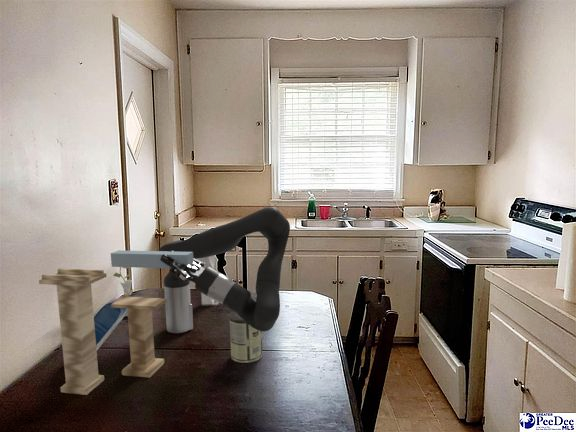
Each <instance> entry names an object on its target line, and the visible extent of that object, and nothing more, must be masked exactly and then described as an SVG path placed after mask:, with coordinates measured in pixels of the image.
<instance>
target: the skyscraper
mask: <svg viewBox="0 0 576 432" xmlns="http://www.w3.org/2000/svg"><path fill="white" fill-rule="evenodd" d="M215 258H216V255H213V256H209V257H204V258H199V259H198V260H199V261H202V262H204V263H205V265H204V268H207V267H208V266H210V267H212V268H214V269H215V260H216V259H215ZM200 295H201V306H203V307H204V306H205V307H206V306H209V307H210V306H219V304H220V303H219V302H216V301H215V300H213V299H211V298H210V297H208V296H206V295H205V294H203V293H201V292H200Z"/></svg>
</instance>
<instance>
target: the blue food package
mask: <svg viewBox="0 0 576 432" xmlns="http://www.w3.org/2000/svg"><path fill="white" fill-rule="evenodd" d="M136 289H137V288H136V287H135V288H134V289H130V292H128V293H126V294H125V295H121V296H118V297H116V298H114V299H112V300H110V301H109V302H108V303H106V304H104V305H103V306H102V307H100V309H99V311H97V313H96V314H95V315H94V326H95V338H96V350H97V351H98V350H99V349H100V348H101V346H102V345H103V344H104V343H105V341H106V340H107V339H108V338H109V336H110V335H111V334H112V333H113V331H114V330H115V329H116V328H117V327H118V325H119V324H120V322H122V320H123V319H124V318H125V317H126V316H125V315H126V314H127V308H114V307H111V304H112V303H114V302H116V301H117V300H119V299H121V298H123V297H124V296H126V297H132V294H133V292H134V291H135V290H136Z"/></svg>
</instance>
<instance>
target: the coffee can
mask: <svg viewBox="0 0 576 432" xmlns="http://www.w3.org/2000/svg"><path fill="white" fill-rule="evenodd" d="M228 318H229V334H230V335H229V336H230V337H229V339H230V340H229V341H230V359H231V360H233V361H234V362H236V363H242V364H244V363H245V364H246V363H248V364H249V363H253V362H257V361H259V360H260V359H262V357H263V339H262V338H263V337H262V336H263V335H262V333H263V331H259V330H256V329H254V328H253V327H251V326H250V325H249V324H248V323H247V322H245V321H244V320H243V319H242V318H241V317H240V316H239V315H238V314H237V313H236V312H235V311H233V310H232V311H231V312H230V313H229V314H228Z"/></svg>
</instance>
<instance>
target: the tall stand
mask: <svg viewBox="0 0 576 432" xmlns="http://www.w3.org/2000/svg"><path fill="white" fill-rule="evenodd" d="M107 276H108V275H107V273H105V271H104V270H103V269H83V268H82V269H81V268H61V267H60V268H57V273H55V274H50V273H48V274H46V273H42V274H41V279H39V280H38V284H39V285H48V286H49V285H50V286H51V285H52V286H54V285H55V286H56V294H57V295H56V296H57V303H58V313H59V314H58V315H59V323H60V324H59V326H60V332H61V333H60V335H61V345H62V346H61V348H62V356H63V358H62V359H63V366H64V378H65V383H64V384H63V385H62V386H60V393H65V394H74V395H83V396H85V395H86V396H87V395H89V394H90V392H92V391H93V390H94V389H95V388H97V387H98V386H99V385H101V384H102V383H103V382H104V381H105V375H103V374H100V373H99V366H98V365H99V364H98V363H99V362H98V353H97V351H98V350H96V338H95V326H94V317H95V315H94V305H93V304H94V303H93V294H92V290H93V289H92V284H94V283H96V282H98V281H100V280H102V279H104V278H107Z"/></svg>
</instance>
